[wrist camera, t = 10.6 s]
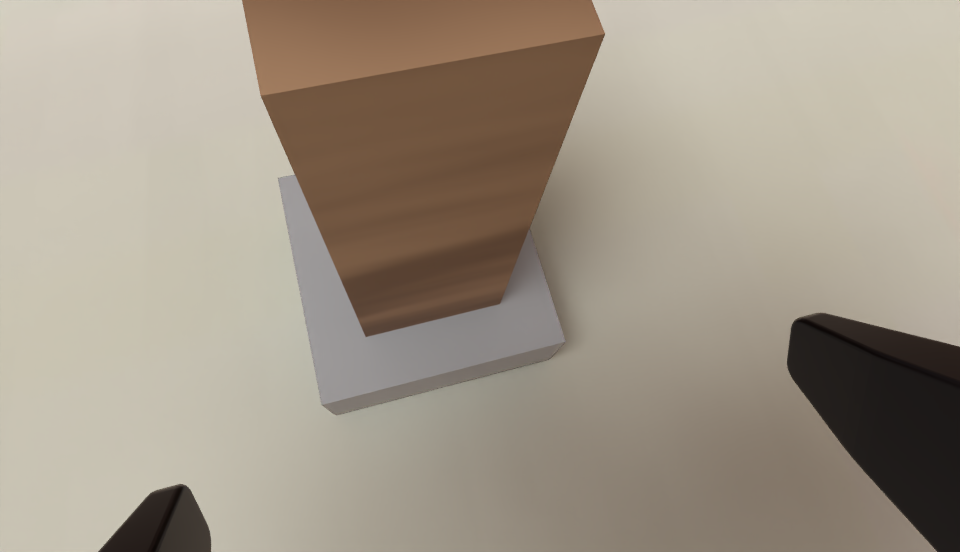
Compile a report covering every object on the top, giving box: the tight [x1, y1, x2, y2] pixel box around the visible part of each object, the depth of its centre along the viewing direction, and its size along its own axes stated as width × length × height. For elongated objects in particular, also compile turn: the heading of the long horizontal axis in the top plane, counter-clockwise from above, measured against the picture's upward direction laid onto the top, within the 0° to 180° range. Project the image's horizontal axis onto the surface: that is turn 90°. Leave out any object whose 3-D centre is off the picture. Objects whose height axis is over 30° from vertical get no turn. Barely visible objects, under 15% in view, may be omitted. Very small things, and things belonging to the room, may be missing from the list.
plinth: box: [278, 175, 566, 415], centre depth 22 cm, size 8×8×3 cm
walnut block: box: [242, 0, 605, 337], centre depth 15 cm, size 4×4×13 cm
